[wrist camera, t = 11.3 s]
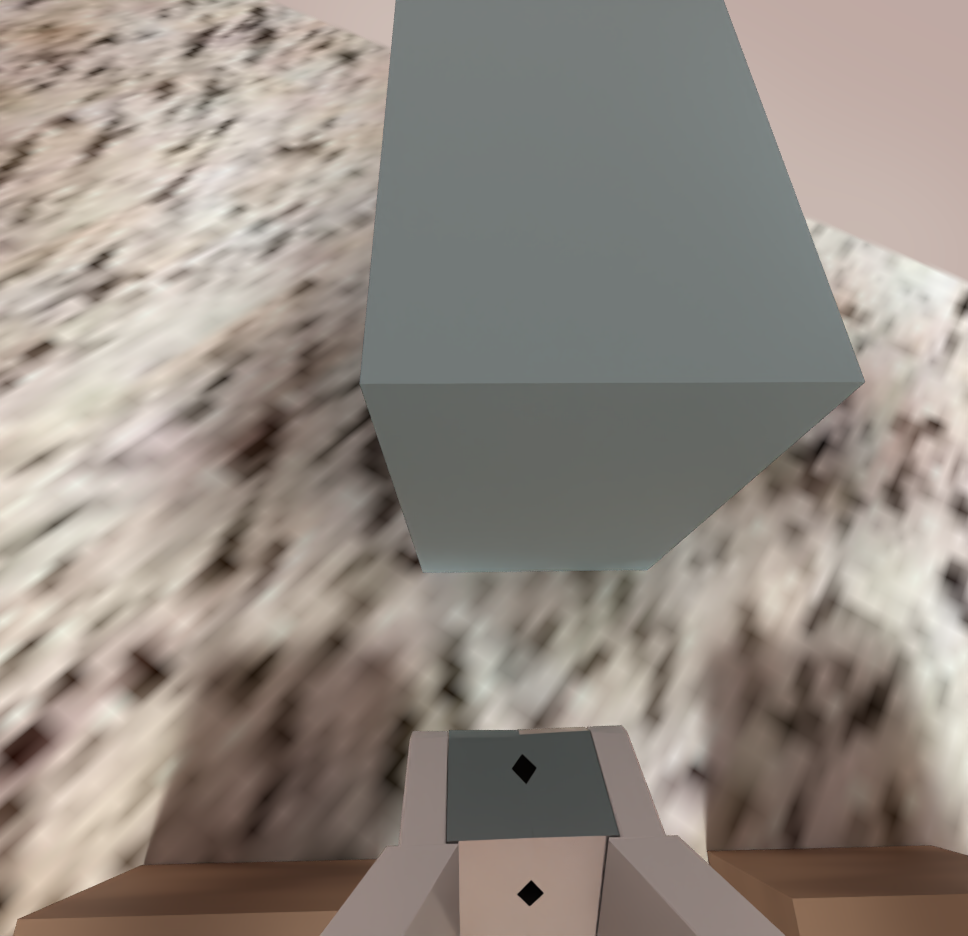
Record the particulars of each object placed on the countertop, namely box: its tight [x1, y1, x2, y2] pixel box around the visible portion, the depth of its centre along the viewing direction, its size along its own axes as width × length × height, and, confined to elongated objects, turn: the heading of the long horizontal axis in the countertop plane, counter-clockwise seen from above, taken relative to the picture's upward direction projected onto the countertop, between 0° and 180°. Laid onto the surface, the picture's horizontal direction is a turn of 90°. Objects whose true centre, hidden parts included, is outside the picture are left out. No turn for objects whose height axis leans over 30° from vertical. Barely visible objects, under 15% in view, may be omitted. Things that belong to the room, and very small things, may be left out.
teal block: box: [360, 0, 865, 573], centre depth 13 cm, size 6×12×9 cm, turn 1°
